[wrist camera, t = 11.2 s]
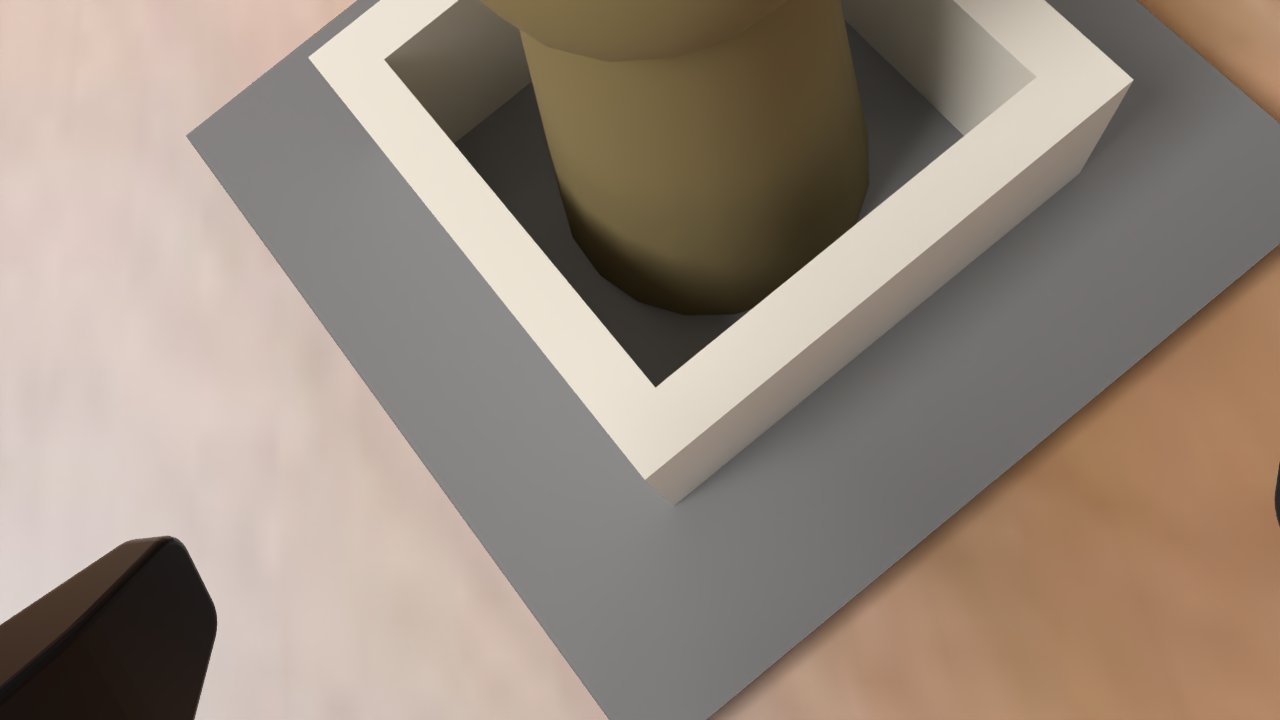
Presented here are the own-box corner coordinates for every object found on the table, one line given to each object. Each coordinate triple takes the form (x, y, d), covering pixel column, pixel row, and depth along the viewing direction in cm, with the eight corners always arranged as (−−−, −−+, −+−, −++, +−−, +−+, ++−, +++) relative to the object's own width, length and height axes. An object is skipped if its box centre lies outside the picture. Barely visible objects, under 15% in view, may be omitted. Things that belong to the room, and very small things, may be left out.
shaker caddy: (653, 762, 19) (607, 801, 15) (211, 155, 24) (78, 51, 20) (1324, 206, 20) (1465, 88, 16) (765, -285, 24) (755, -480, 20)
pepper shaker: (577, 341, 20) (322, 28, 10) (544, 60, 22) (295, -466, 12) (897, 286, 20) (991, -113, 9) (840, 0, 21) (863, -619, 11)
